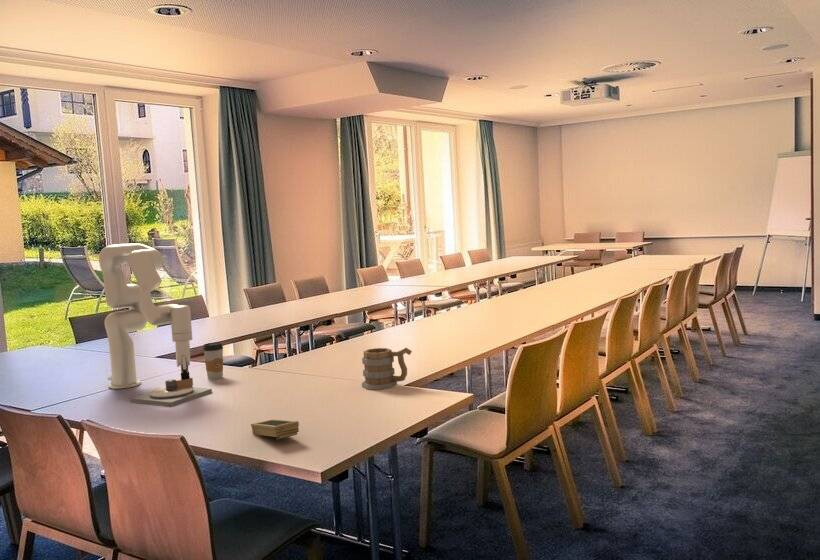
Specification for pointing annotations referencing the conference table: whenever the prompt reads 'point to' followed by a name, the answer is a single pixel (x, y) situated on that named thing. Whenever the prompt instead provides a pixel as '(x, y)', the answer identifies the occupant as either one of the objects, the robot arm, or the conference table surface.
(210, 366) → the coffee cup
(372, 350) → the tankard
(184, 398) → the dial plate
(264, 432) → the box
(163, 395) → the dial
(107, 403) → the conference table surface
